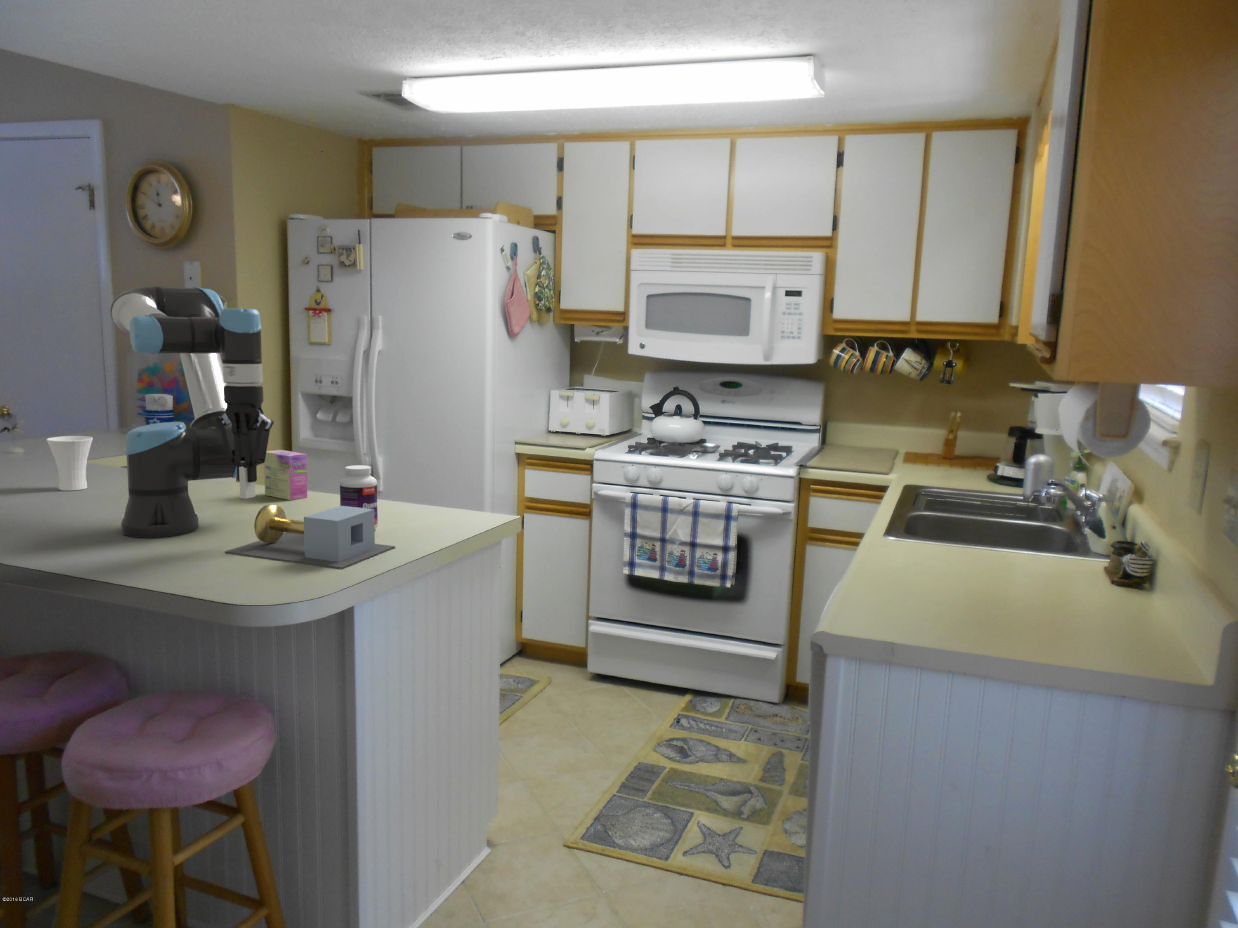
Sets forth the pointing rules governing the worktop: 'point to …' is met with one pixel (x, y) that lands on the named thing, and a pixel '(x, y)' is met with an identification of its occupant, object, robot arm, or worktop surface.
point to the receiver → (339, 533)
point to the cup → (71, 460)
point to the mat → (300, 552)
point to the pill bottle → (359, 489)
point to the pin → (275, 524)
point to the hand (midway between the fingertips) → (247, 497)
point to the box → (285, 474)
